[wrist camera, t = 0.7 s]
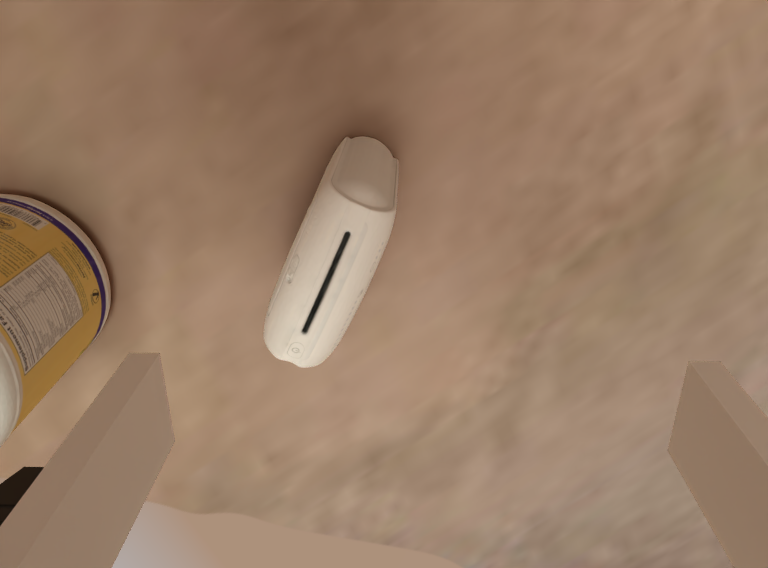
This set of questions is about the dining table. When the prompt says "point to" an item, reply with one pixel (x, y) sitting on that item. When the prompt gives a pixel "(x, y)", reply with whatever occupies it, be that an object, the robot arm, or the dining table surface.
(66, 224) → the supplement tub
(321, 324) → the photo printer
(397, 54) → the dining table surface
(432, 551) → the dining table surface
